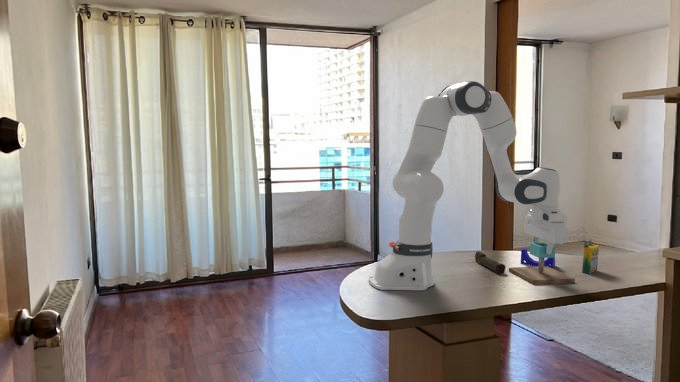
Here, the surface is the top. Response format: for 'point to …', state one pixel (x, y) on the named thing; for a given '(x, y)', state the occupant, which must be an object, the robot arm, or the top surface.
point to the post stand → (541, 274)
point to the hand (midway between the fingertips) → (541, 251)
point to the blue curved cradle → (529, 261)
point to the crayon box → (590, 257)
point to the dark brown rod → (489, 263)
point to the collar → (541, 250)
